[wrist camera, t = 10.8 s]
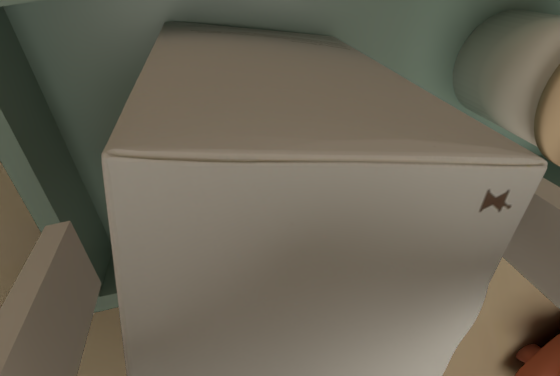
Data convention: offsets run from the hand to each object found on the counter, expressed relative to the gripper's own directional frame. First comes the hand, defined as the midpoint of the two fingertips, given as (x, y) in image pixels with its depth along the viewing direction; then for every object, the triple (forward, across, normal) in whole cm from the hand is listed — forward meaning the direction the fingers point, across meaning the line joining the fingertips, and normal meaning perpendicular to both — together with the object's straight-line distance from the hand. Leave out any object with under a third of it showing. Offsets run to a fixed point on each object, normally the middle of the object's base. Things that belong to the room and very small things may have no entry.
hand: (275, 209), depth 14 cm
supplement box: (+10, 0, 0) cm, 10 cm away
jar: (+9, +16, 0) cm, 18 cm away
